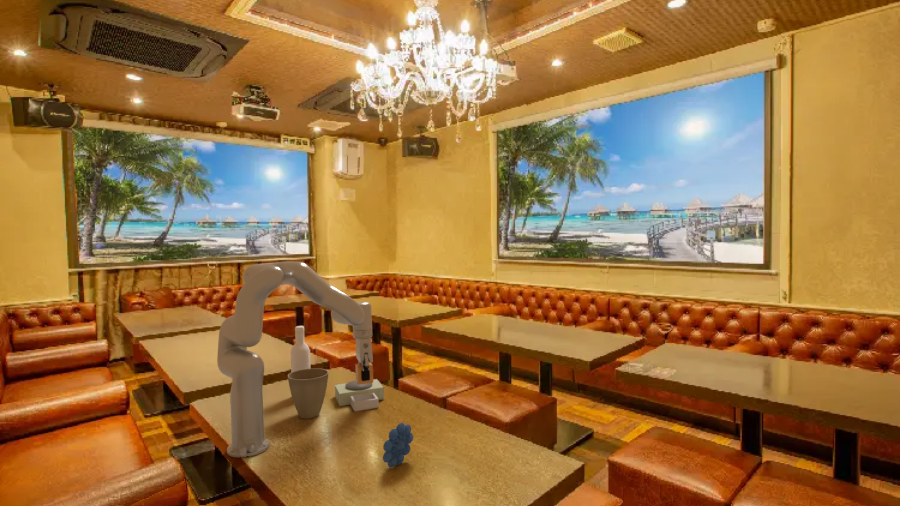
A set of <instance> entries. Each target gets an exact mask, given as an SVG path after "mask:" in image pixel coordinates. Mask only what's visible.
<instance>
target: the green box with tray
mask: <svg viewBox="0 0 900 506" xmlns="http://www.w3.org/2000/svg"><path fill="white" fill-rule="evenodd" d="M334 397H335V399H336V401H337V403H338V406H339V407H343V406H348V405H350V406H351V408H352V410H353V412H359V411H364V410H371V409H378V408H379V406H380V405H379V403H380V402H379V401H380V400H382V401H383V400H385V390H384V386H383V385H382V384H381V382H380V380H378V379H377V378H376V379H375V378H373V383H367V384H360V385H358V384H357V382H356V380H352V381H349V382H346V383H340V384H339V383H338V384H334Z"/></svg>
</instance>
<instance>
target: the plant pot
mask: <svg viewBox="0 0 900 506" xmlns="http://www.w3.org/2000/svg"><path fill="white" fill-rule="evenodd" d="M287 380H288V387H289V391H290V394H291V398H292V401H293V404H294V407H295V409H296V412H297V415H298V416H299V418H301V419H306V420H308V419H312V418H317V417H318V416H319V415H320V414H321V411H322V407H323V404H324V400H325V397H326V394H327V393H326V392H327V388H328V381H329V370H328V369H325V368H320V367H318V368H316V367H314V368H311V369H302V370H298V371H294V372H289V373H288V374H287Z"/></svg>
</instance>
